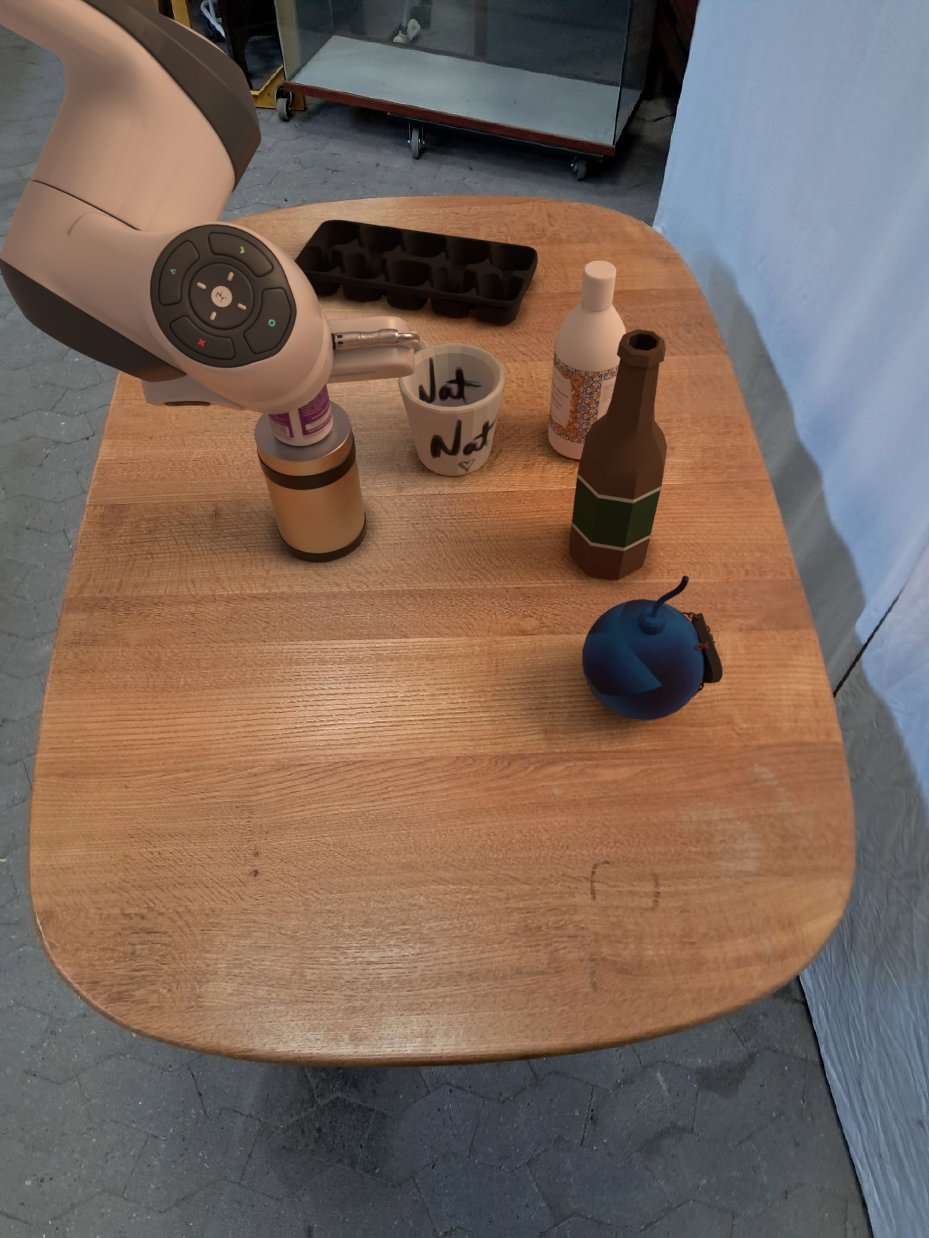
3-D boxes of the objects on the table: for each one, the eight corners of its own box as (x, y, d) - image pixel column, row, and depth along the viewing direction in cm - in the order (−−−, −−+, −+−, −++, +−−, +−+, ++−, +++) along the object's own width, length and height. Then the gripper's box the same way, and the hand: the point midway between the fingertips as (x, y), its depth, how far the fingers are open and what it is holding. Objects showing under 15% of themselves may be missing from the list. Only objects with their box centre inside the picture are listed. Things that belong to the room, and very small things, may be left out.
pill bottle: (330, 403, 81) (314, 309, 73) (336, 444, 77) (320, 349, 70) (269, 411, 80) (247, 317, 72) (272, 452, 77) (249, 358, 69)
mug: (427, 499, 91) (422, 423, 83) (375, 410, 100) (365, 333, 92) (520, 468, 94) (524, 391, 86) (462, 384, 102) (460, 307, 94)
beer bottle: (593, 510, 90) (623, 297, 71) (662, 544, 87) (714, 332, 68) (551, 558, 86) (571, 348, 67) (622, 595, 84) (664, 387, 64)
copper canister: (294, 573, 86) (268, 474, 76) (269, 513, 91) (241, 411, 80) (379, 545, 88) (365, 445, 77) (350, 487, 93) (333, 385, 82)
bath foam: (536, 429, 97) (546, 259, 81) (592, 410, 99) (613, 240, 83) (567, 470, 94) (584, 300, 78) (625, 449, 95) (654, 279, 79)
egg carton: (310, 243, 120) (305, 216, 117) (537, 248, 118) (539, 221, 115) (286, 323, 109) (280, 296, 106) (535, 330, 108) (536, 302, 105)
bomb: (720, 731, 75) (766, 624, 63) (592, 750, 74) (613, 644, 62) (685, 636, 81) (721, 521, 69) (566, 652, 80) (581, 539, 68)
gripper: (415, 284, 61) (413, 322, 75) (108, 309, 60) (162, 343, 74) (425, 380, 62) (420, 400, 76) (122, 406, 61) (173, 422, 75)
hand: (291, 372), depth 75 cm, fingers closed on pill bottle, 5 cm apart
